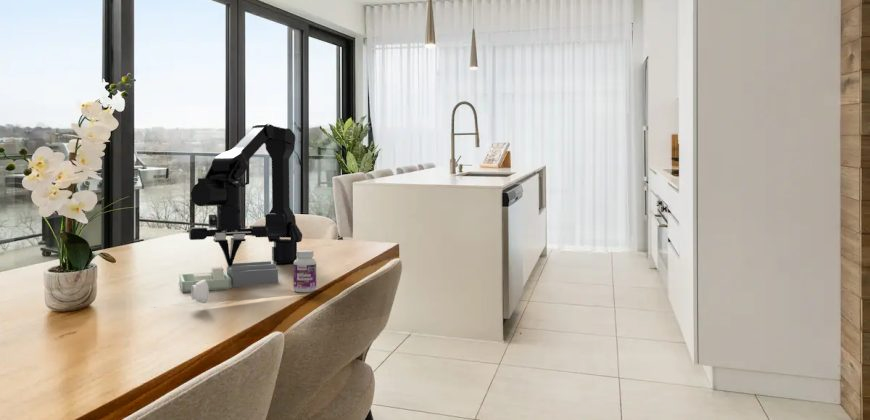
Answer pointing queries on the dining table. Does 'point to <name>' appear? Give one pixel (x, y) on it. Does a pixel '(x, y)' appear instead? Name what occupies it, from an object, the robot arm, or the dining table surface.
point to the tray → (216, 284)
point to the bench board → (252, 273)
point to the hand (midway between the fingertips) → (229, 265)
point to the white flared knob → (200, 291)
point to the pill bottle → (304, 272)
